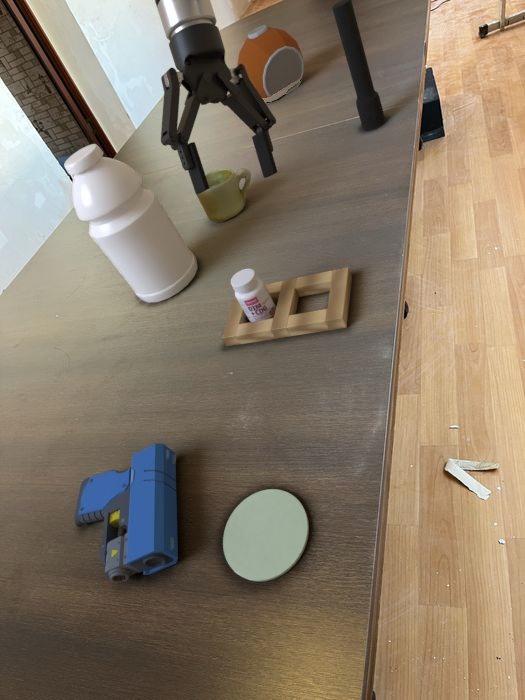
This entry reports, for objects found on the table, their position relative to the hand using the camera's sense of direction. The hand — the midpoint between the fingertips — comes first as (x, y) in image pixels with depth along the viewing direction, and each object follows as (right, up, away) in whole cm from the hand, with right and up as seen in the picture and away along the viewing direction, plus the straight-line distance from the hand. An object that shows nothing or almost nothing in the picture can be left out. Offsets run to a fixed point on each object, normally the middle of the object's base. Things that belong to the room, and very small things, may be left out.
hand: (238, 183), depth 75 cm
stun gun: (-13, -47, -13) cm, 51 cm away
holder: (+8, -20, +2) cm, 21 cm away
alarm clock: (+9, +52, +72) cm, 89 cm away
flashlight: (+28, +24, +33) cm, 49 cm away
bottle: (-15, -11, +24) cm, 31 cm away
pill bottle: (+4, -20, +4) cm, 21 cm away
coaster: (+4, -45, -22) cm, 50 cm away
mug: (-2, +6, +33) cm, 34 cm away
